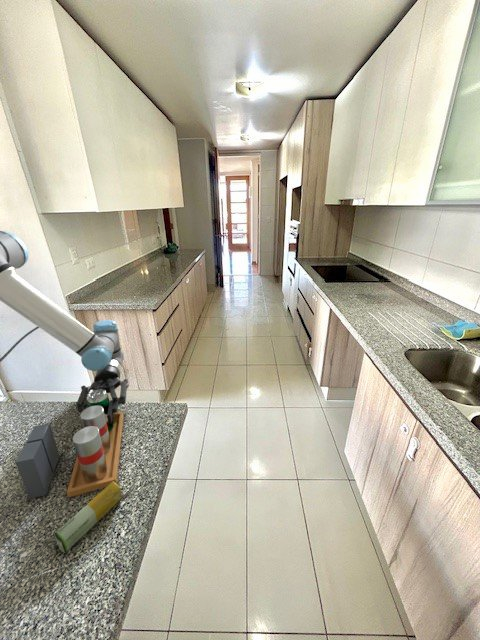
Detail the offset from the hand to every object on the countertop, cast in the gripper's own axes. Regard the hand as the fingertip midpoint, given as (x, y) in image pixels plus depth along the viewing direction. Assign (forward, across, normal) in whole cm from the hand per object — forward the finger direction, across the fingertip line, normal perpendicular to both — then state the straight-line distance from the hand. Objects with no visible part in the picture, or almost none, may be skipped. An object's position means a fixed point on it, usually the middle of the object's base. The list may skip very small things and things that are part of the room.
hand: (97, 422), depth 67 cm
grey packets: (+7, +11, -7) cm, 15 cm away
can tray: (+2, 0, -8) cm, 8 cm away
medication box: (+21, -1, -8) cm, 22 cm away
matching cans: (+6, 0, -7) cm, 9 cm away
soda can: (-5, 0, -7) cm, 9 cm away
